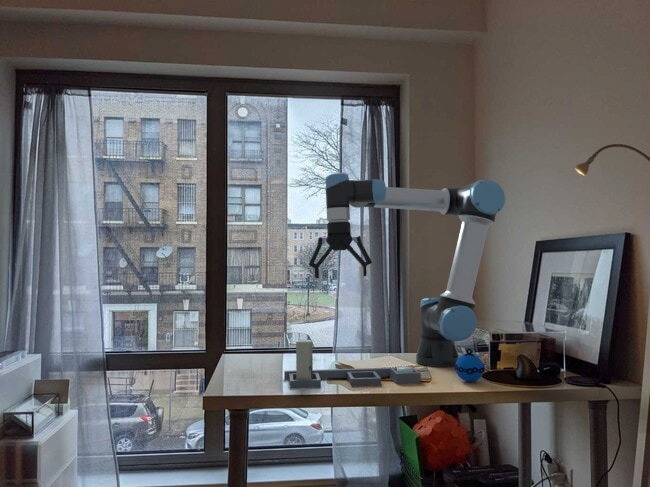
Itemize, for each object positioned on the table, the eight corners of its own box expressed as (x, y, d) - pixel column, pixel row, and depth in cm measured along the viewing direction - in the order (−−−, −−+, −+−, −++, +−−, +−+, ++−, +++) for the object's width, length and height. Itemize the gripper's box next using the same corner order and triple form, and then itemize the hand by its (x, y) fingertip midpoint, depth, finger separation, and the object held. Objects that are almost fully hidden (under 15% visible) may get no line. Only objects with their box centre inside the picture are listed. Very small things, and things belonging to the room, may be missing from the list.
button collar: (413, 376, 154) (413, 367, 154) (420, 383, 146) (420, 373, 146) (390, 377, 153) (390, 367, 153) (396, 383, 146) (395, 373, 146)
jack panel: (403, 375, 156) (403, 367, 156) (412, 383, 145) (412, 375, 145) (284, 378, 152) (284, 370, 152) (284, 388, 142) (284, 379, 142)
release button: (410, 374, 152) (410, 366, 153) (415, 378, 147) (415, 369, 148) (395, 374, 152) (395, 366, 152) (399, 378, 147) (399, 370, 147)
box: (310, 386, 144) (310, 342, 144) (295, 385, 144) (295, 342, 145) (313, 381, 149) (313, 339, 149) (299, 380, 150) (298, 338, 150)
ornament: (455, 384, 145) (454, 350, 145) (455, 377, 153) (454, 345, 153) (485, 386, 142) (485, 352, 143) (483, 379, 151) (483, 346, 151)
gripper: (373, 221, 162) (376, 284, 162) (299, 223, 159) (301, 288, 159) (379, 219, 155) (381, 286, 154) (300, 222, 152) (303, 290, 151)
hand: (341, 287), depth 156 cm, fingers open, 13 cm apart
